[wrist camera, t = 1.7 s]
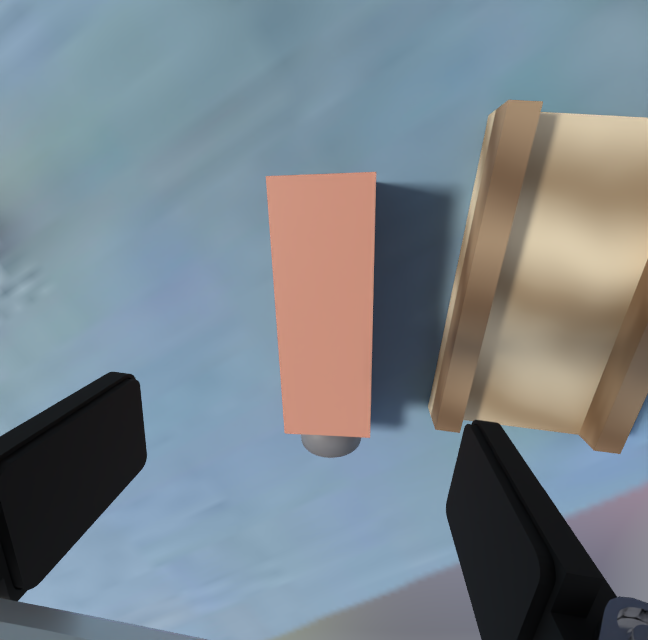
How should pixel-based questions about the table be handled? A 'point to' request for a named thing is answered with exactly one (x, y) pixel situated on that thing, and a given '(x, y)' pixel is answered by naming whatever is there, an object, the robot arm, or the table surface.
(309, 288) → the salmon rectangular block
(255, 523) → the table surface
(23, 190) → the table surface
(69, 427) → the robot arm
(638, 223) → the cradle
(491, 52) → the table surface
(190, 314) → the table surface
